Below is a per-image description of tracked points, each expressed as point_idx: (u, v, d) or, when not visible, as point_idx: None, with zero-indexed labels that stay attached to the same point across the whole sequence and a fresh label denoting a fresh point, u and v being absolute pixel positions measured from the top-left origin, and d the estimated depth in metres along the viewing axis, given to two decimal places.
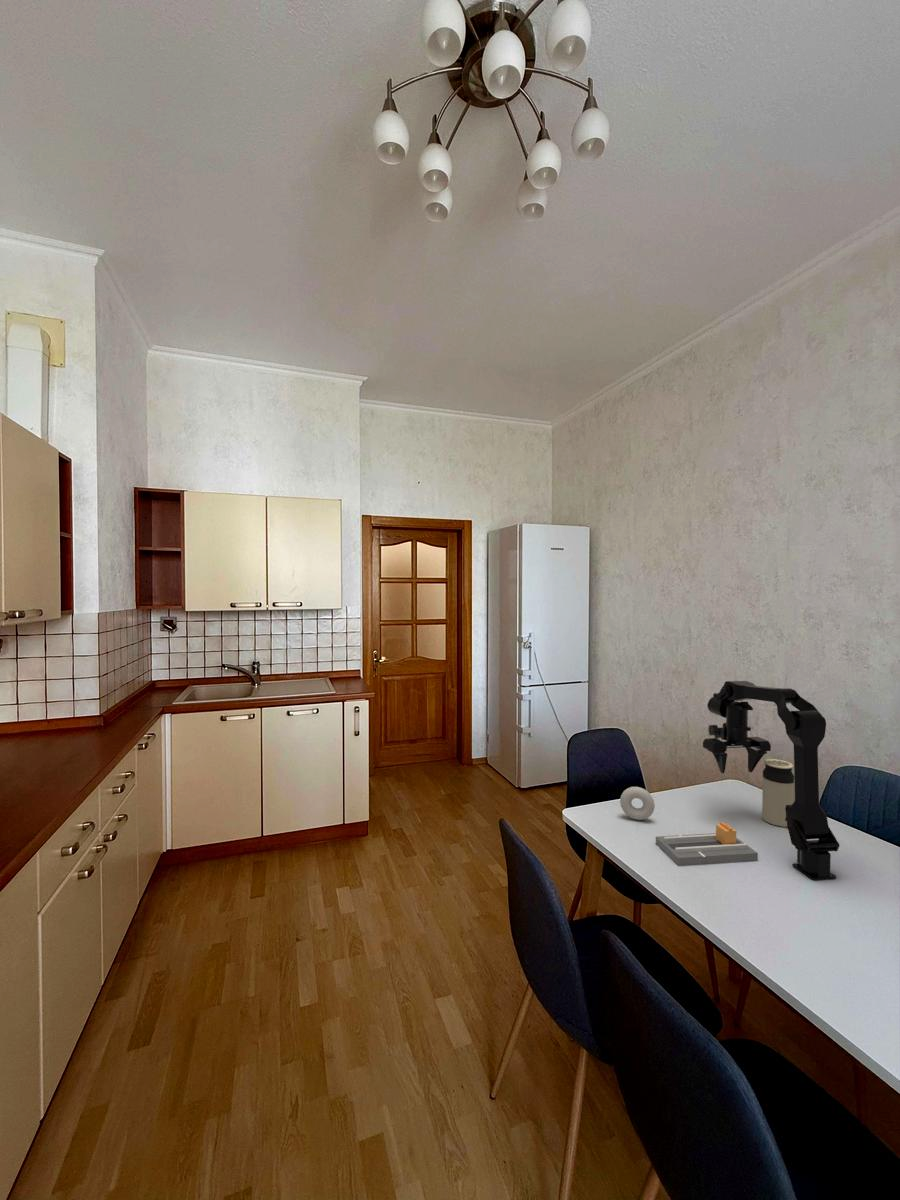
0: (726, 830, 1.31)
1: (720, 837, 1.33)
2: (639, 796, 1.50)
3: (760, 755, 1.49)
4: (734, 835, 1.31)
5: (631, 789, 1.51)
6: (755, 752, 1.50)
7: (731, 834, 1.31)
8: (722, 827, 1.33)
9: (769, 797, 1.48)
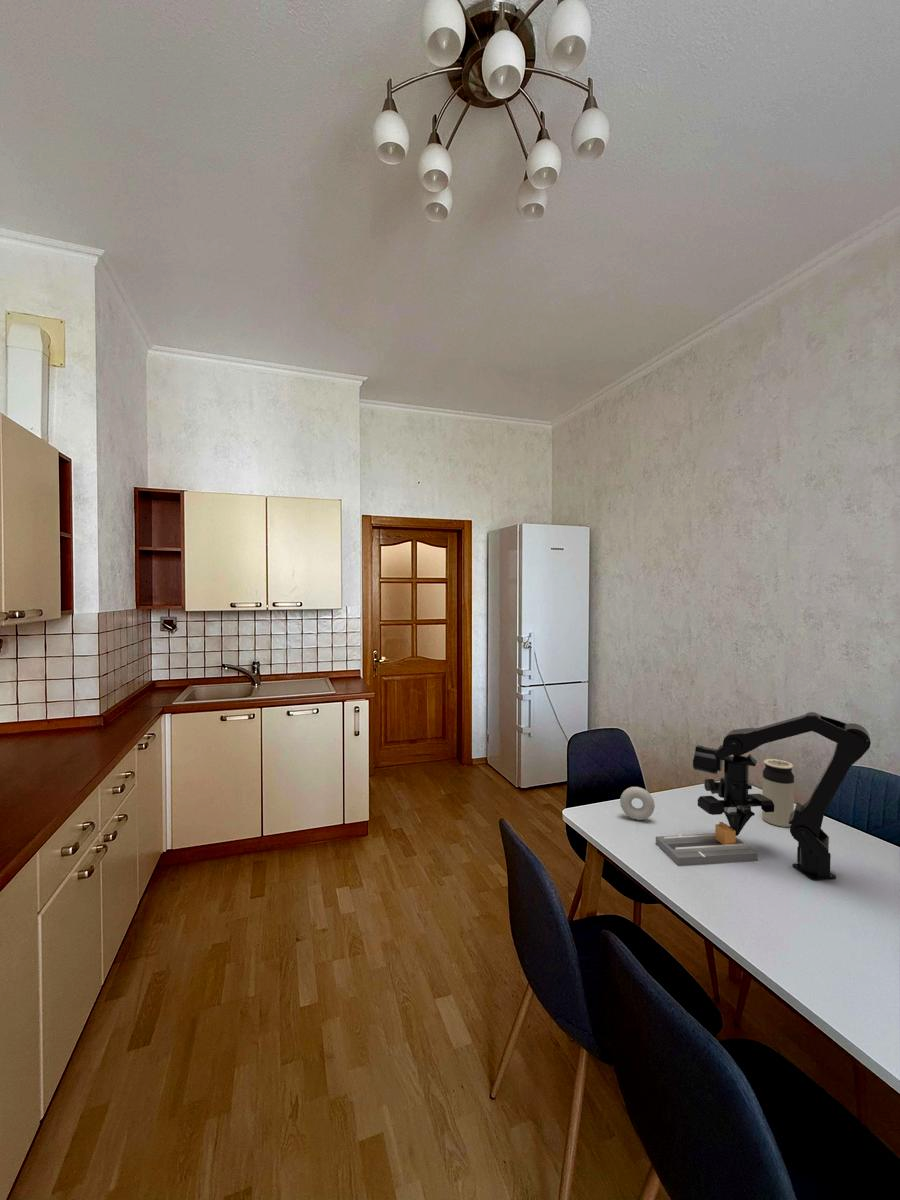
0: (725, 830, 1.31)
1: (719, 837, 1.33)
2: (639, 796, 1.50)
3: (747, 818, 1.31)
4: (733, 835, 1.31)
5: (631, 789, 1.51)
6: (741, 813, 1.32)
7: (730, 834, 1.31)
8: (721, 827, 1.33)
9: (769, 797, 1.48)
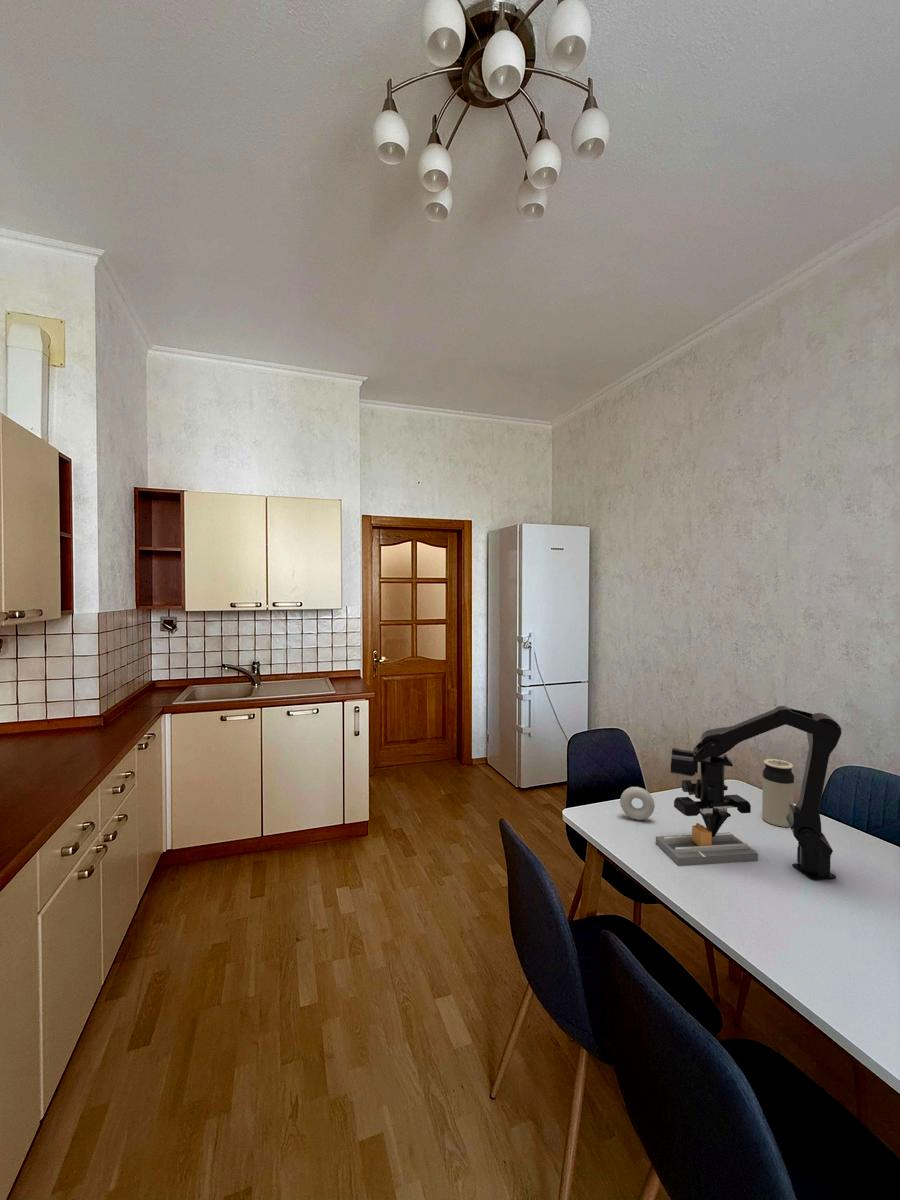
0: (701, 831, 1.31)
1: (696, 839, 1.32)
2: (639, 796, 1.50)
3: (723, 819, 1.30)
4: (709, 836, 1.30)
5: (631, 789, 1.51)
6: (717, 814, 1.31)
7: (706, 835, 1.30)
8: (698, 828, 1.32)
9: (769, 797, 1.48)
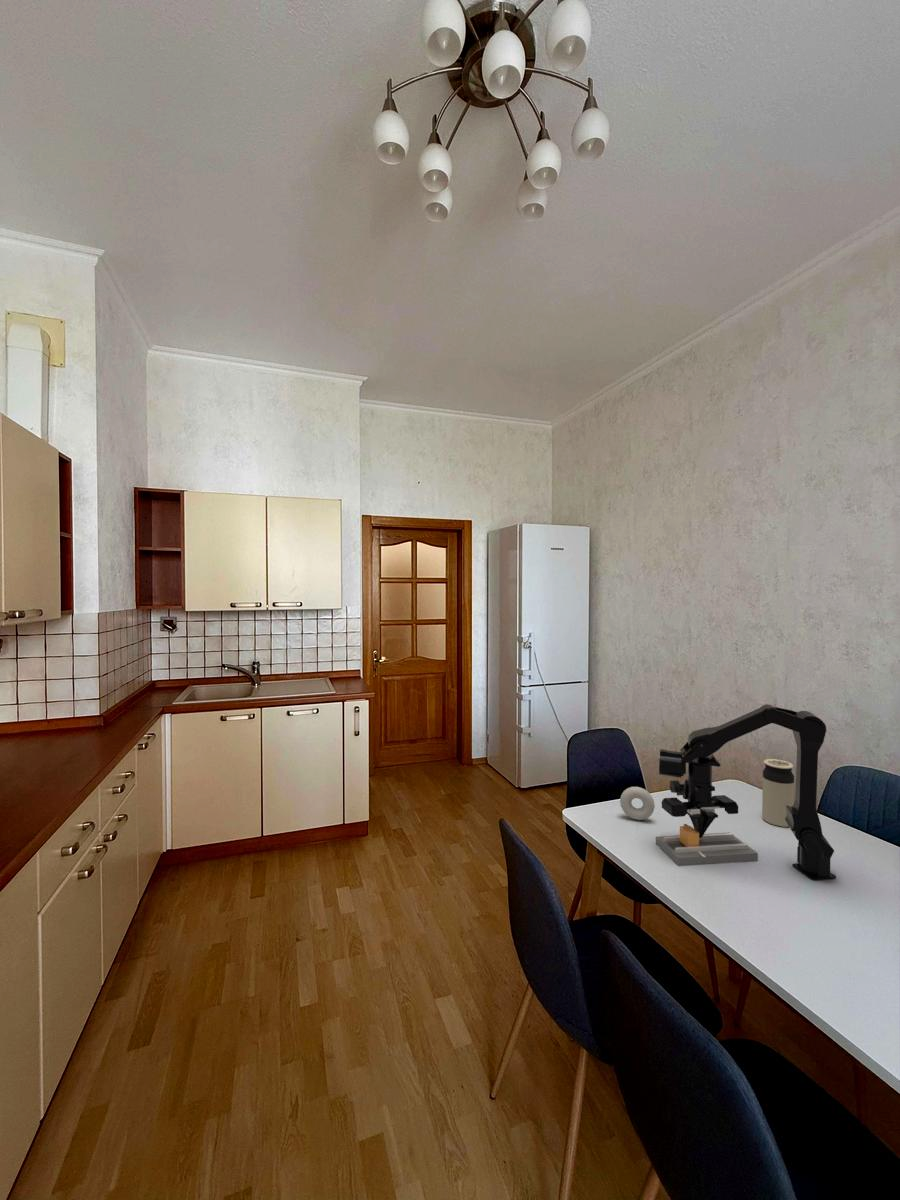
0: (689, 832, 1.30)
1: (683, 839, 1.32)
2: (639, 796, 1.50)
3: (710, 819, 1.30)
4: (697, 837, 1.30)
5: (631, 789, 1.51)
6: (705, 815, 1.31)
7: (694, 836, 1.30)
8: (685, 829, 1.32)
9: (769, 797, 1.48)
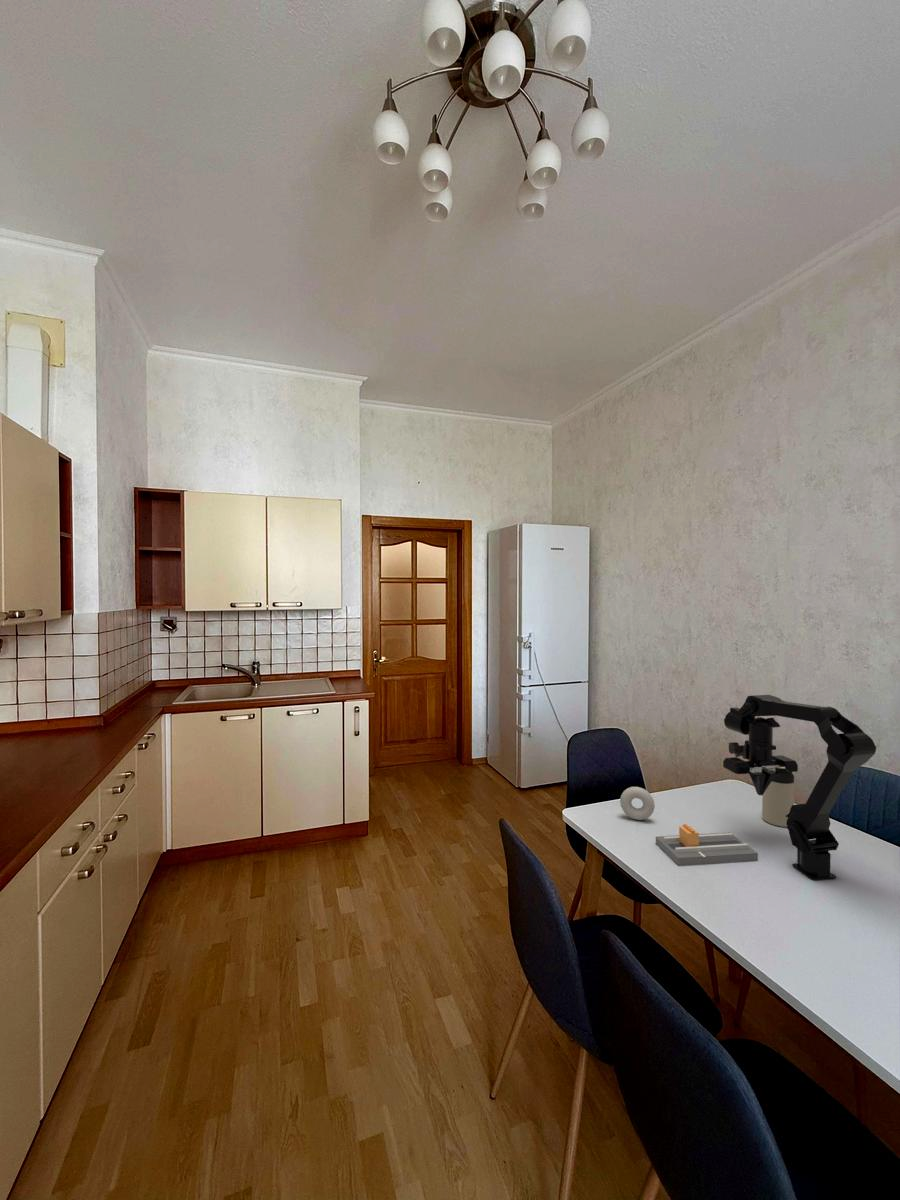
0: (688, 832, 1.30)
1: (683, 839, 1.32)
2: (639, 796, 1.50)
3: (772, 777, 1.36)
4: (696, 837, 1.30)
5: (631, 789, 1.51)
6: (766, 773, 1.37)
7: (693, 836, 1.30)
8: (685, 829, 1.32)
9: (769, 797, 1.48)
